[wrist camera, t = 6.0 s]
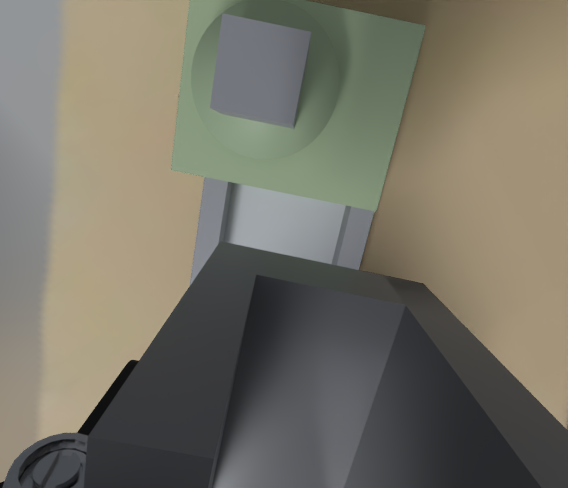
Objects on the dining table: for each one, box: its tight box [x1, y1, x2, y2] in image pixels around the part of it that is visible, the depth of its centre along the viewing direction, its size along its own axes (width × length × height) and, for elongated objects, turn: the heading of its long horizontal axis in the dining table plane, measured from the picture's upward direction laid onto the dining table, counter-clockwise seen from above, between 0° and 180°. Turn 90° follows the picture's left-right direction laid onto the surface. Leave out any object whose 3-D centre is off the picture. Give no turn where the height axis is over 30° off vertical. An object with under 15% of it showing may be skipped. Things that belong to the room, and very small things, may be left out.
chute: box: [84, 241, 568, 488], centre depth 8 cm, size 6×7×7 cm
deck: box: [171, 0, 426, 285], centre depth 21 cm, size 13×18×8 cm
